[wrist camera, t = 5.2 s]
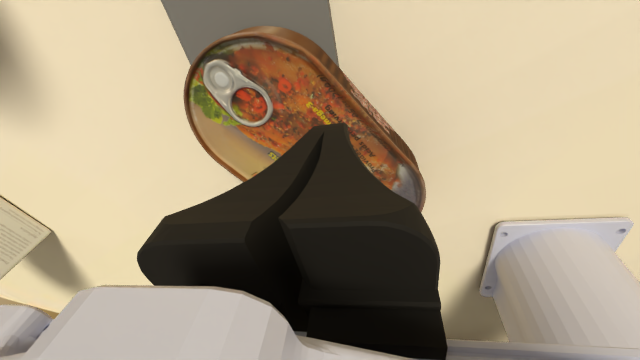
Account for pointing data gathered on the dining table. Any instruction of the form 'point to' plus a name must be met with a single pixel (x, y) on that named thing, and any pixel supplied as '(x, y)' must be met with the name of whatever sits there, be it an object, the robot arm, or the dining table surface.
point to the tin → (286, 107)
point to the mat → (248, 20)
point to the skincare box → (17, 236)
